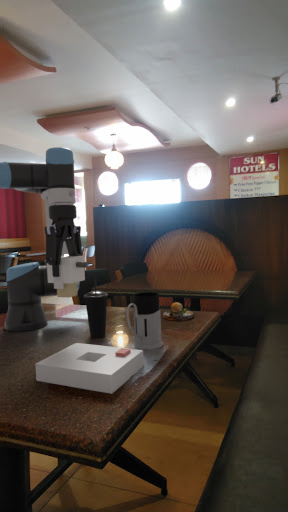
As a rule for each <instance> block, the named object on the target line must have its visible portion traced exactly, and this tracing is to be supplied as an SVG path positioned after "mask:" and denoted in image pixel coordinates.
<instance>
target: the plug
mask: <svg viewBox="0 0 288 512" xmlns="http://www.w3.org/2000/svg"><path fill="white" fill-rule="evenodd" d="M84 257H85V256H84V255H83V256H61V262H60V265H62V266H63V283H64V288H63V289H57V295H56V296H57V298H67V299H68V298H69V299H70V298H72V297H76V296H78V291H77V282H79V281H80V282H82V281H86V276H85V268H88V266H89V265H88V262H87V261H85V258H84ZM50 259H51V258H50ZM47 275H48V283H54V277H53V274H52V265H49V264H48V263H47Z"/></svg>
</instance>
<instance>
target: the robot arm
mask: <svg viewBox="0 0 288 512" xmlns="http://www.w3.org/2000/svg"><path fill="white" fill-rule="evenodd" d="M0 189H5V190H7V189H8V190H9V189H10V190H11V189H13V190H15V191H20V192H23V193H24V192H25V193H30V194H40V197H41V199H43V200H44V205H45V206H44V207H45V221H46V226H44V233H45V260H44V265H40V263H39V262H38V261H35V262H34V261H33V262H29V263H28V262H26V263H22V264H17V265H14V266H11V267H8V269H7V270H6V280H5V281H6V285H7V286H6V289H7V305H8V309H7V312H6V317H5V320H4V330H6V331H8V332H25V331H26V332H27V331H33V330H36V329H37V330H38V329H41V328H43V327H45V326H47V325H48V317H47V315H46V313H45V310H44V308H43V305H42V304H43V303H42V297H43V298H44V297H53V296H55V297H56V296H57V289H63V288H64V283H63V266H62V265H60V262H61V256H84V254H83V246H82V237H81V231H82V227H81V226H80V225H75V221H74V220H75V219H77V206H76V205H74V204H76V201H77V200H76V187H75V160H74V153H73V151H72V150H71V148H68V147H62V146H61V147H60V146H56V147H55V146H54V147H50V148H47V149H46V150H45V162H11V161H10V162H8V161H2V162H1V161H0ZM50 258H51V259H50ZM47 263H48V264H49V265H52V274H53V277H54V283H48V275H47ZM80 282H81V281H79V282H77V292H79V289H80Z"/></svg>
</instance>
